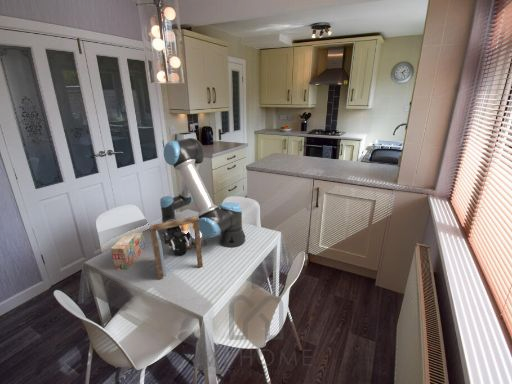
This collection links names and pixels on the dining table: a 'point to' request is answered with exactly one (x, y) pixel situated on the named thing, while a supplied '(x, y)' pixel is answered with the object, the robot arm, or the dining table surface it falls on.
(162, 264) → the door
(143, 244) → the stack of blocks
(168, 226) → the door frame
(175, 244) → the supplement bottle
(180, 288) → the dining table surface
